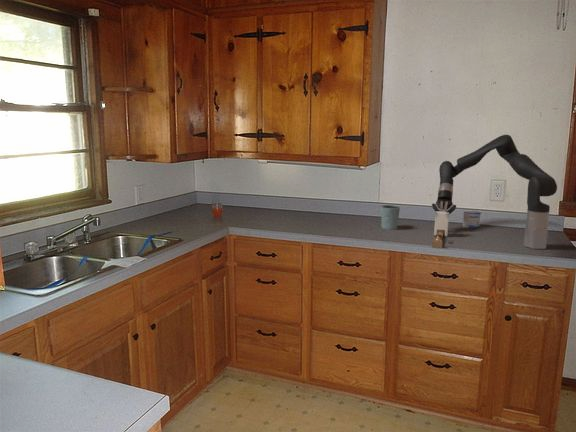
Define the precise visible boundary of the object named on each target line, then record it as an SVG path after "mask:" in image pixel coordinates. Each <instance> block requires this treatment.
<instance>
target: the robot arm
mask: <svg viewBox="0 0 576 432" xmlns="http://www.w3.org/2000/svg"><path fill="white" fill-rule="evenodd" d="M493 150H496V152H497V154H498V155H499V157H501V158H502V159H503V160H504V161H506V162H507V163H508V165H509V166H510V167H511V168H512V169H513V171H514V172H515V173H516V174H517V175H518V176H519V177H521V178H522V179H526V180H528V184H527V198H526V205H527V209H526V212H527V213H526V220H525V221H526V222H525V230H524V240H523V246H524V247H526V248H529V249H534V250H535V249H537V250H540V249H541V250H544V249H547V241H548V232H549V229H548V227H549V218H550V208H551V207H550V205H549V204H547V203H544V202H543V201H541V197H551V196H554V195H555V194H556V193H557V190H558V186H557V185H558V184H557V181H556V180H555V179H554V177H552V175H550V174H548V173H547V172H546V171H544V170H543V169H542V168H540V167H539V165H537V163H535V161H534V160H533V159H532V158H531V157H529V156H528V155H527V154H525V153H520V151H519V150H518V148H517V146H516V144H515V142H514V140H513V137H512V135H510V134H502V135H500V136H497V137H496V138H494V139H492V140H491V141H489V142H487V143H486V144H484V145H483V146H481V147H479V148H477V149H476V150H474V151H472V152H471V153H468V154H466V155H464V156H461V157H459V158H457V159H456V164H455V165H454V164H453V163H452V162H451V161H448V160H445V161H443V162H442V163H441V164H440V166H439V169H438V172H439V179H440V180H439V181H440V182H439V188H438V191H437V200H436V202H435V203H432V204H431V208H432V209H433V210H434V211H435V213H436V211H440V212H449V215H450V214H452V213H453V212H454V211H455V210H457V205H456V204H454V203H453V194H454V178H456V177H457V176H458V175H459V174H461V173H462V172H464V171H465V170H467V169H469V168H472V167H474V166H476V165H477V164H479V163H480V162H481V161H482V159H483V158H484V157H485V156H486V155H487V154H488V153H490V152H491V151H493Z"/></svg>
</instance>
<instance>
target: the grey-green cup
mask: <svg viewBox="0 0 576 432" xmlns="http://www.w3.org/2000/svg"><path fill="white" fill-rule="evenodd" d="M400 209H401V207H400V206H399V205H394V204H393V205H392V204H384V205H383V204H382V205H381V206H380V210H381V211H380V212H381V229H383V230H388V231H392V230H393V231H394V230H395V231H396V230H397V229H398V227H399V215H400V211H401V210H400Z"/></svg>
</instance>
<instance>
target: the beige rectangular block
mask: <svg viewBox="0 0 576 432" xmlns="http://www.w3.org/2000/svg"><path fill="white" fill-rule="evenodd" d="M449 217H450V214H449V212H444V211H443V212H440V211H436V212H435V215H434V229H433V236H437V234H438V229H439V230H445V232H444V237H448V234H449V233H448V232H449Z"/></svg>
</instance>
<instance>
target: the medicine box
mask: <svg viewBox="0 0 576 432" xmlns="http://www.w3.org/2000/svg"><path fill="white" fill-rule="evenodd" d="M481 214H482V212H480V211H478V210H477V211H475V210H474V211H473V210H472V211H463V218H462V227H463V228H466V229H475V228H476V229H477V228H480V227H481V226H480V223H481Z"/></svg>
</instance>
